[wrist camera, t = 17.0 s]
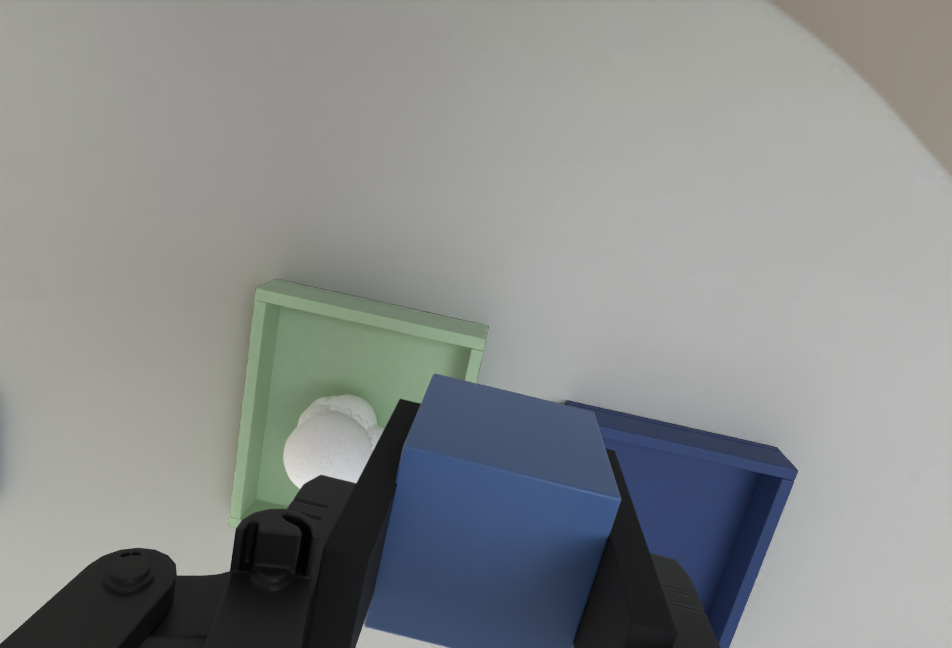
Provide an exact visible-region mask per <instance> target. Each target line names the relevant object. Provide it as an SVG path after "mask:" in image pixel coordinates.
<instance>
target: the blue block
mask: <svg viewBox="0 0 952 648" xmlns="http://www.w3.org/2000/svg"><path fill="white" fill-rule="evenodd" d="M395 483H396V484H397V488H396V492H395V497H394V501H393V506H392V510H391V515H390V519H389V524H388V529H387V533H386V538H385V542H384V547H383V551H382V556H381V561H380V565H379V570H378V574H377V579H376V583H375V588H374V593H373V597H372V600H371V603H370V606H369V609H368V611H367V614H366V618H365V622H364V624H365V627H367V628H371V629H375V630H379V631H383V632H387V633H391V634H395V635H399V636H403V637H407V638H411V639H415V640H419V641H423V642H427V643H431V644H435V645H439V646H443V647H448V648H572V647H573V644H574V641H575V638H576V635H577V632H578V629H579V626H580V623H581V620H582V617H583V614H584V610H585V607H586V604H587V601H588V598H589V595H590V592H591V589H592V586H593V583H594V580H595V577H596V574H597V571H598V568H599V565H600V562H601V559H602V556H603V553H604V550H605V547H606V544H607V541H608V538H609V535H610V532H611V529H612V526H613V523H614V520H615V517H616V514H617V511H618V508H619V505H620V502H621V497H620V493H619V490H618V487H617V484H616V481H615V477H614V474H613V471H612V468H611V465H610V461H609V458H608V455H607V452H606V449H605V446H604V442H603V439H602V436H601V433H600V430H599V426H598V423H597V420H596V417H595V414H594V412H592V411H588V410H584V409H580V408H576V407H571V406H567V405H563V404H559V403H555V402H551V401H547V400H543V399H539V398H534V397H530V396H526V395H522V394H518V393H514V392H510V391H506V390H501V389H497V388H493V387H489V386H485V385H481V384H477V383H473V382H469V381H464V380H460V379H456V378H452V377H448V376H444V375H440V374H433V376H432V378H431V381H430V383H429V386H428V388H427V390H426V393H425V395H424V397H423V400H422V402H421V405H420V407H419V409H418V412H417V414H416V417H415V419H414V421H413V424H412V426H411V429H410V431H409V433H408V436H407V438H406V440H405V443H404V445H403V448H402V453H401V458H400V462H399V467H398V471H397V476H396V480H395Z"/></svg>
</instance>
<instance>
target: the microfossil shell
mask: <svg viewBox="0 0 952 648" xmlns="http://www.w3.org/2000/svg"><path fill="white" fill-rule="evenodd" d="M383 431H384V428H382V427H380V426H378V425H377V418H376V414H375V412H374V410H373V408H372V407H371V405H370V404H369V403H368V402H367V401H366V400H364V399H363V398H361V397H358V396H354V395H349V394H346V395H340V396H329V397H321V398H319V399H317V400H315V401H314V402H313V403H312V404H311V405H310V406H309V408H308V409H306V410H305V411H304V412H303V413H302V414H301V416H300V418H299V421H298V425H297V428H295V429H294V431H293V432H292V433H291V434H290V436H289V437H288V439H287V441H286V443H285V447H284V453H283V460H284V466H285V469H286V472H287V474H288V476H289V478H290V480H291V481H292V482H293V483H294V485H296V486H297V487H298V488H299V489H301V487H302V486H303V484H305V483H307V482H308V481H310V480H312V479H314V478H316V477H317V476H319V475H324V476H328V477H332V478H337V479H341V480H345V481H349V482H353V483H357V481H358V479H359V477H360V475H361V473H362V471H363V470H364V468H365V466H366V464H367V462H368V460H369V458H370V456H371V454H372V452H373V450H374V448H375V446H376V444H377V442H378V440H379V438H380V436H381V435H382V433H383ZM371 444H372V445H371Z"/></svg>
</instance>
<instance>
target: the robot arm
mask: <svg viewBox="0 0 952 648" xmlns="http://www.w3.org/2000/svg"><path fill="white" fill-rule="evenodd" d="M420 405H421V404H420V403H416V402H412V401H408V400H404V399H400V400H399V401H398V403H397V405H396V407H395V409H394V411H393V413H392V415H391V417H390V419H389V421H388V423H387V425H386V427H385V429H384V431H383V433H382V435H381V436H380V438H379V440H378V442H377V444H376V446H375V448H374V450H373V452H372V454H371V456H370V458H369V460H368V462H367V464H366V466H365V468H364V470H363V471H362V473H361V475H360V477H359V479H358V481H357V483H353V482H349V481H345V480H341V479H337V478H332V477H328V476H324V475H319V476H317V477H316V478H314V479H312V480H310V481H308V482H307V483H305V484H303V486H302V487H301V489H300V490H299V492H298V493H297V495H296V496H295V497H294V500H293V501H292V502H291V503H290V505H289V506H288V508H287V509H266V510H262V511H258V512H254V513H253V514H251V515H249V516H247V517H246V518H244V519H243V520H242V521H241V522H240V524H239V525H238V526H237V528H236V533H235V540H234V547H233V554H232V561H231V568H230V572H226V573H222V574H217V575H206V576H177V574H176V564H175V563H174V562H173V561H172V559H171V558H170V557H169V556H168V555H166V554H163V553H161V552H159V551H157V550H152V549H144V548H133V549H124V550H119V551H116V552H113V553H110V554H107V555H104V556H102V557H100V558H99V559H97V560H96V561H94V562H93V563H91V564H90V565H88V566H87V567H86V568H85V569H84V570H83V571H82V572H80V573H79V574H78V575H77V576H76V577H75V578H74V579H73V580H72V581H70V582H69V583H68V584H67V585H66V586H65V587H64V588H63V589H61V590H60V591H59V592H58V593H57V594H56V595H55V596H54V597H52V598H51V599H50V600H49V601H48V602H47V603H46V604H45V605H44V606H42V607H41V608H40V609H39V610H38V611H37V612H36V613H35V614H33V615H32V616H31V617H30V618H29V619H28V620H27V621H26V622H24V623H23V624H22V625H21V626H20V627H19V628H18V629H17V630H16V631H14V632H13V633H12V634H11V635H10V636H9V637H8V638H7V639H5V640H4V641H3V642H2V643H1V644H0V648H355V647H356V644H357V641H358V638H359V635H360V632H361V629H362V626H363V623H364V620H365V617H366V614H367V611H368V609H369V606H370V603H371V600H372V597H373V593H374V588H375V583H376V579H377V574H378V570H379V565H380V561H381V556H382V551H383V547H384V542H385V538H386V533H387V529H388V524H389V519H390V515H391V510H392V506H393V501H394V497H395V492H396V488H397V484H396V483H395V480H396V476H397V471H398V467H399V462H400V458H401V453H402V448H403V445H404V443H405V440H406V438H407V436H408V433H409V431H410V429H411V426H412V424H413V421H414V419H415V417H416V414H417V412H418V409H419V407H420ZM605 449H606V448H605ZM606 452H607V455H608V458H609V461H610V465H611V468H612V471H613V474H614V477H615V481H616V484H617V487H618V490H619V493H620V497H621V502H620V505H619V508H618V511H617V514H616V517H615V520H614V523H613V526H612V529H611V532H610V535H609V538H608V541H607V544H606V547H605V550H604V553H603V556H602V559H601V562H600V565H599V568H598V571H597V574H596V577H595V580H594V583H593V586H592V589H591V592H590V595H589V598H588V601H587V604H586V607H585V610H584V614H583V617H582V620H581V623H580V626H579V629H578V632H577V635H576V638H575V641H574V648H720V646H719V643H718V641H717V639H716V636H715V634H714V631H713V629H712V627H711V624H710V622H709V620H708V617H707V615H706V613H704V608H703V605H702V603H701V601H700V598H698V594H697V591H696V589H695V586H694V584H693V582H692V579H691V577H690V576H689V575H688V573H687V572H686V571H685V570H684V569H683V568H682V567H681V566H680V564H679V563H678V562H677V561H676V560H675V559H672V558H668V557H664V556H660V555H656V554H652V553H650V552H649V549H648V546H647V543H646V540H645V537H644V534H643V531H642V529H641V526H640V523H639V520H638V517H637V514H636V511H635V508H634V505H633V502H632V499H631V496H630V494H629V491H628V488H627V485H626V482H625V479H624V476H623V473H622V470H621V467H620V464H619V461H618V459H617V456H616V453H615V450H610V449H606Z"/></svg>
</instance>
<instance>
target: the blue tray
mask: <svg viewBox="0 0 952 648" xmlns="http://www.w3.org/2000/svg"><path fill="white" fill-rule="evenodd" d="M566 405H567V406H571V407H576V408H580V409H584V410H588V411H592V412H594V414H595V417H596V420H597V423H598V426H599V430H600V433H601V436H602V439H603V442H604V446H605V448H606V449H610V450H615V453H616V456H617V459H618V461H619V464H620V467H621V470H622V473H623V476H624V479H625V482H626V485H627V488H628V491H629V494H630V496H631V499H632V502H633V505H634V508H635V511H636V514H637V517H638V520H639V523H640V526H641V529H642V531H643V534H644V537H645V540H646V543H647V546H648V549H649V552H650V553H652V554H656V555H660V556H664V557H668V558H672V559H675V560H676V561H677V562H678V563H679V564H680V566H681V567H682V568H683V569H684V570H685V571H686V572H687V573H688V575H689V576H690V577H691V579H692V582H693V584H694V586H695V589H696V591H697V594H698V598H700V601H701V603H702V605H703V608H704V613H706V615H707V617H708V620H709V622H710V624H711V627H712V629H713V631H714V634H715V636H716V639H717V641H718V643H719V646H720V648H729V646H730V644H731V641H732V639H733V636H734V633H735V631H736V628H737V626H738V623H739V621H740V618H741V616H742V613H743V611H744V608H745V605H746V603H747V600H748V598H749V595H750V593H751V590H752V588H753V585H754V583H755V580H756V577H757V575H758V572H759V570H760V567H761V565H762V562H763V560H764V557H765V555H766V552H767V549H768V547H769V544H770V542H771V539H772V537H773V534H774V532H775V529H776V527H777V524H778V521H779V519H780V516H781V514H782V511H783V509H784V506H785V504H786V501H787V499H788V496H789V493H790V491H791V488H792V486H793V483H794V481H793V480H795V478H796V475H797V473H798V470H797V469H796V468H795V467H794V465H793V464H792V463H791V462H790V461H789V460H788V459H787V458H786V457H785V456H784V455H783V453H782V452H781V451H780V450H779V449H778V448H777V447H773V446H768V445H764V444H759V443H755V442H751V441H746V440H742V439H737V438H733V437H728V436H724V435H719V434H715V433H710V432H706V431H701V430H697V429H692V428H688V427H684V426H679V425H675V424H670V423H666V422H661V421H657V420H652V419H648V418H643V417H639V416H634V415H630V414H625V413H621V412H616V411H612V410H608V409H603V408H599V407H594V406H590V405H585V404H581V403H576V402H572V401H566ZM572 648H574V644H573V647H572Z"/></svg>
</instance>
